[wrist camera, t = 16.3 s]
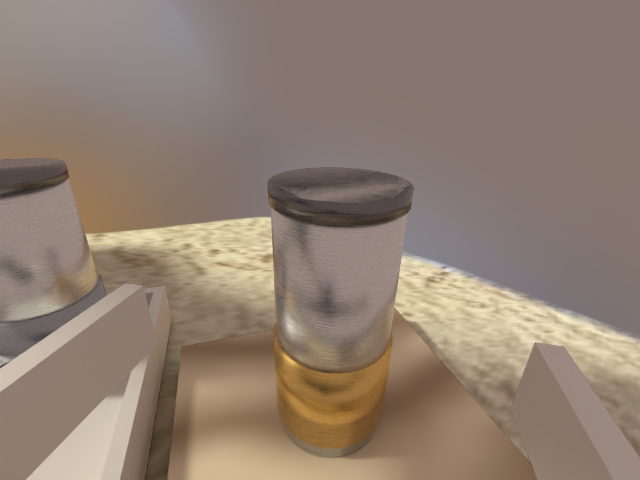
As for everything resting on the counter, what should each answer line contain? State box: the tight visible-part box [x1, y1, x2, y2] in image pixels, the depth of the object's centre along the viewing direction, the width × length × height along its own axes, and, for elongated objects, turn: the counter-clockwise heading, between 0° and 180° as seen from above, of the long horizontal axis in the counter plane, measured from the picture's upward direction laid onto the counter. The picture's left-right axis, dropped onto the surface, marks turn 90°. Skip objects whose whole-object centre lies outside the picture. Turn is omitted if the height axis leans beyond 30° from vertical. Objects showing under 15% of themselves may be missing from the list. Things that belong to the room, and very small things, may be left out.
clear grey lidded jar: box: [0, 158, 107, 365], centre depth 20 cm, size 6×6×14 cm
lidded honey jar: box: [267, 167, 414, 458], centre depth 17 cm, size 6×6×14 cm
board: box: [167, 307, 537, 480], centre depth 20 cm, size 16×18×2 cm
